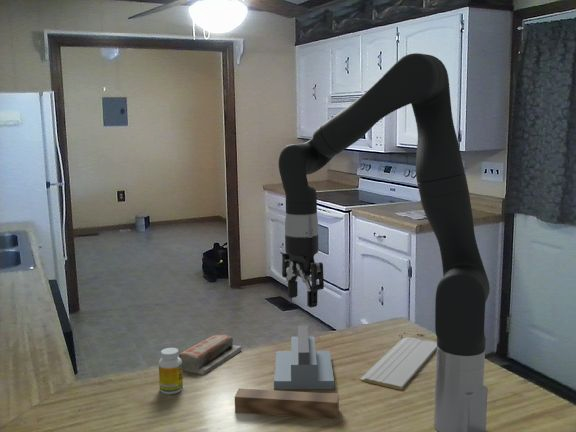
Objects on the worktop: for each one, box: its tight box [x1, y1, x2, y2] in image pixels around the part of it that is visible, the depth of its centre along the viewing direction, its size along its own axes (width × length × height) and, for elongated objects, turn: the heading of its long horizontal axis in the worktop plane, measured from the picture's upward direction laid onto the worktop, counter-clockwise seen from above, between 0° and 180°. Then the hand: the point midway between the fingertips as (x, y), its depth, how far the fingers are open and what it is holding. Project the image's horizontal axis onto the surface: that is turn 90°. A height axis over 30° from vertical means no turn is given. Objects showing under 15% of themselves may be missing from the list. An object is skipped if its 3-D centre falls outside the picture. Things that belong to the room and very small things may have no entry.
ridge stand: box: [273, 325, 335, 390], centre depth 145 cm, size 14×18×9 cm
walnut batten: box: [234, 388, 340, 420], centre depth 127 cm, size 22×4×4 cm, turn 82°
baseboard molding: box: [359, 332, 437, 391], centre depth 152 cm, size 31×3×12 cm
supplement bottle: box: [158, 347, 184, 395], centre depth 137 cm, size 5×5×10 cm
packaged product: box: [178, 334, 243, 376], centre depth 155 cm, size 18×5×10 cm
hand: (302, 301), depth 135 cm, fingers open, 8 cm apart
